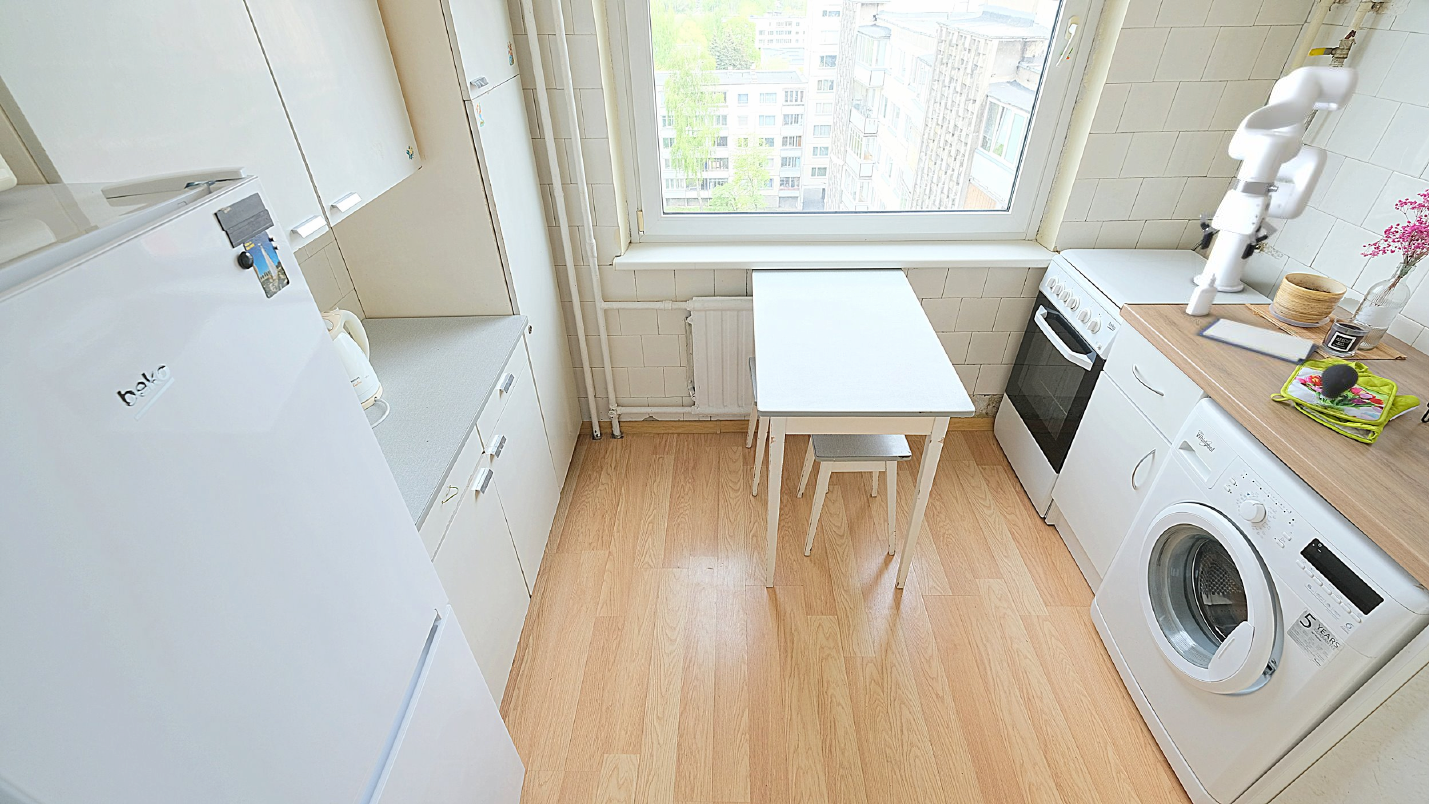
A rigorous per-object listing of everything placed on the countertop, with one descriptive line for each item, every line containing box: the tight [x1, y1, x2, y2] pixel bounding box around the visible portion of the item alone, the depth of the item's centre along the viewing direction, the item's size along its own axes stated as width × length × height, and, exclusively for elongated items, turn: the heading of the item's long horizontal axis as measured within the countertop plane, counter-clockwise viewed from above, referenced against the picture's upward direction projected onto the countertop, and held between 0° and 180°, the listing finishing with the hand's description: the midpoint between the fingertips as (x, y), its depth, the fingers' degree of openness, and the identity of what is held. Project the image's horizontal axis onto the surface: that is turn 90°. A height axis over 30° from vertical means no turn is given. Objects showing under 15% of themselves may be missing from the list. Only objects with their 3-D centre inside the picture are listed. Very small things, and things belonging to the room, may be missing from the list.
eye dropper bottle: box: [1185, 272, 1219, 317], centre depth 177 cm, size 4×6×12 cm
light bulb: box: [1316, 363, 1359, 408], centre depth 135 cm, size 6×6×10 cm
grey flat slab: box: [1196, 318, 1319, 366], centre depth 165 cm, size 16×22×1 cm
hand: (1224, 253), depth 170 cm, fingers open, 9 cm apart
